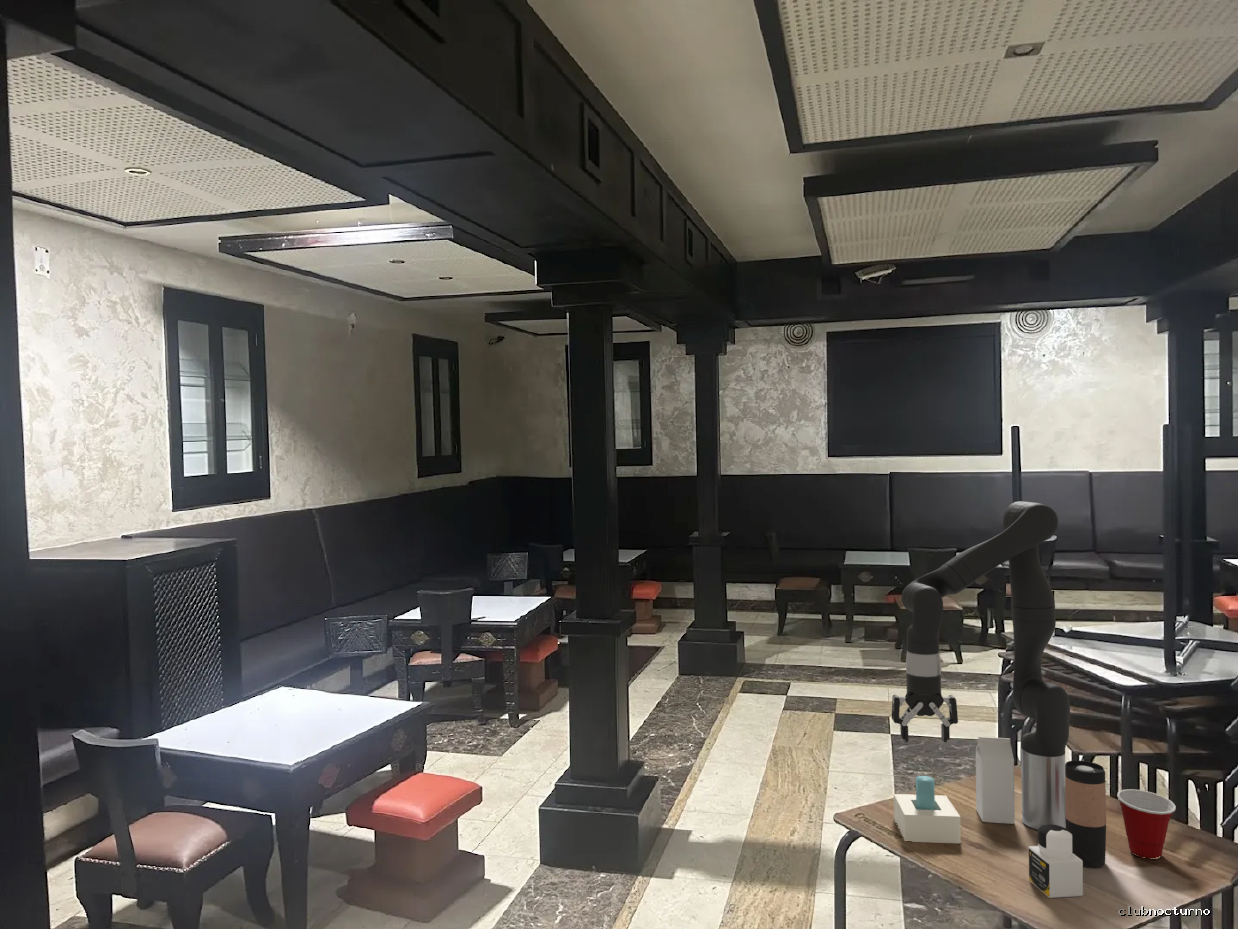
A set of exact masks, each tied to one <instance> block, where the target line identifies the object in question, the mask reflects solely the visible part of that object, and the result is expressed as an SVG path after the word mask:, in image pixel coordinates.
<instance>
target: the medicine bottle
mask: <svg viewBox="0 0 1238 929" xmlns="http://www.w3.org/2000/svg"><path fill="white" fill-rule="evenodd" d="M1037 834H1038V835H1037V841H1038V842H1037V843H1038V844H1037V845H1032V846H1031V845H1030V846H1028V880H1029V882H1030V883H1031V884H1032V885H1033V886H1035V888H1037V889H1038V890H1039V891H1041V892H1042V893H1043V894H1044V895H1045V896H1046V897H1047V898H1049V899H1054V898H1055V899H1057V898H1072V897H1075V898H1076V897H1083V896H1084V875H1083V873H1084V870H1083V868H1084V867H1083V861H1082V860H1081V859H1080V858H1078V857H1077V856H1076V855H1074V854H1073V853H1072V834H1071V832H1070V831H1069V830H1067V829H1066V828H1064V827H1061V826H1058V825H1052V824H1048V825H1042V826H1040V827H1039V828H1038V830H1037Z"/></svg>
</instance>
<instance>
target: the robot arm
mask: <svg viewBox="0 0 1238 929" xmlns="http://www.w3.org/2000/svg"><path fill="white" fill-rule="evenodd" d="M1002 516H1003V517H1002V529H1003V531H1002V532H1000V533H999V534H997V535H995V536H993V537H992V538H989V539H988V540H985V541H983V542H981V543H978V544H976V545H974V546H973V545H972V546H971V547H970V548H967V549H965V550H964V551H961V552H959V553H958V554H957V555H955V556H954V557H952V558H950V559H949V560H948V561H946V562H945V563H943V564H942V565H941V566H940V567H939V568H936V569H935V570H933V571H931V572H928V573H926V574H924V575H922V576H920V577H918V578H916V579H915V580H913V581H911V582H910V583H908V584H907V586H905V587H904V589H903V590H902V593H901V597H900V599H901V603H902V606H903V607H904V608H905V609H906V610H908V611H909V612H911V613H912V624H911V625H909V627H908V628H907V629H906V658H905V671H906V674H905V675H906V678H905V679H906V692H905V693H906V694H905V696H902V695H900V696H899V695H897V694H893V695H892V698H891V719H892V721H893V723H895V724H898V725H899V726H900V727H899V728H900V738H901V739H902V740H903V741H904V743H909V725H908V724H909V723H910V722H911V721H912V720H913V719H914V717H916V715H917V716H918V717H924V716H927V717H933V716H934V715H936V716H937V717H938V719H939V720H940V722H941V724H940V730H941V731H940V734H941V741H942V742H943V743H947V742H948V740H950V737H951V735H950V728H951V727H950V726H952V725H956V724H958V722H959V716H958V704H957V698H956V697H955V696H954V695H952V694H949V695H948V696H943V695H942V675H941V672H942V667H941V665H942V663H941V658H940V637H939V636H940V635H939V633H940V629H941V624H942V619H943V614H944V600H943V598H944V597H946V596H949V595H957V594H959V593H960V592H962V591H964V590H965V589H967V588H968V587H970V585H973V584H974V583H975V582H976V581H978V580H980V579H981V578H983V576H985V575H986V574H987V573H989V572H991V571H992V570H993V569H995V568H997V567H999V566H1001V565H1002V564H1004V563H1005V562H1007V561H1008V566H1009V567H1008V569H1009V570H1008V571H1009V584H1010V599H1011V602H1010V604H1011V605H1010V606H1011V619H1012V620H1011V622H1012V631H1013V633H1012V634H1013V653H1014V654H1013V657H1014V658H1013V661H1014V662H1013V677H1012V678H1013V680H1012V698H1013V703H1014V707H1015V709H1016V710H1017V712H1018V713H1019V714H1021V715H1022V716H1024V717H1027V718H1029V719H1032V720H1034V721H1036V724H1035V732H1027V733H1025V734H1023V735H1022V736H1021V740H1020V741H1021V743H1020V748H1021V751H1020V753H1021V755H1020V756H1021V820H1022V823H1023V824H1024V825H1025V826H1027V827H1029V828H1032V829H1034V830H1037V831H1038V828H1039V827H1040V826H1042V825H1048V824H1052V825H1058V826H1061V827H1064V828H1066V822H1065V764H1066V746H1067V744H1068V741H1069V737H1070V720H1071V717H1070V716H1071V703H1070V702H1071V701H1070V698H1069V695H1068V693H1067V691H1066V689H1065V688H1063V687H1062V686H1060V685H1057V684H1055V683H1051V682H1048V681H1044V680H1043V675H1042V658H1043V654H1044V651H1045V650H1046V647H1047V646H1048V644H1049V642H1050V641H1051V639H1052V636H1053V634H1054V632H1055V630H1056V629H1055V628H1056V627H1057V626H1056V622H1057V620H1056V619H1057V618H1056V616H1057V615H1056V605H1055V597H1054V593H1053V590H1052V587H1051V585H1050V582H1049V580H1048V578H1047V576H1046V573H1045V571H1044V569H1043V567H1042V564H1041V563H1042V562H1041V560H1040V554H1039V552H1040V550H1039V545H1040V544H1042V543H1044V542H1046V541H1048V540H1049V539H1051V538H1052V537H1053V536H1054V535H1055V533H1056V532H1057V529H1058V527H1059V519H1058V518H1059V517H1058V515H1057V513H1056V511H1055V510H1054V509H1053V508H1051V507H1050V506H1049V505H1046V504H1044V503H1040V502H1034V501H1033V502H1032V501H1021V500H1020V501H1014V502H1012V503H1011V504H1009V505H1008V507H1006V509H1005V510H1004V514H1003V515H1002ZM904 703H906V704H907V708H906V709H905V711H904V713H903V714H902V715H901V717H900V708H901V707H902V706H903V704H904ZM944 703H945V705H946V706H947V707H948V712H949V714H948V715H949V716H948V717H946V716H945V715H944V714H943V713H942V711H941V710H940V708H941V707H942V706H943V704H944Z"/></svg>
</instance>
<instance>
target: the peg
mask: <svg viewBox="0 0 1238 929" xmlns="http://www.w3.org/2000/svg"><path fill="white" fill-rule="evenodd" d="M935 791H936V790H935V779H934V778H933V777H932V776H927V775H918V776H916V777H915V795H916V809H917V810H935V795H936V792H935Z"/></svg>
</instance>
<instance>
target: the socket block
mask: <svg viewBox="0 0 1238 929" xmlns="http://www.w3.org/2000/svg"><path fill="white" fill-rule="evenodd" d="M894 819H895V820H894ZM893 820H894V823H895V824H896V823H897V824H896V826H897V825H898V826H897V828H898V830H899V829H900V830H899V832H900V831H901V832H900V835H901V836H902V835H903V836H902V838H903V837H904V838H903V841H905V840H908V841H912V842H911V843H938V844H961V839H962V837H961V815H960V814H959V813H958V811H957V809H956V807H955V806H954V805H953V804H952V802H951V801H950V800H949V798H948V797H947V795H940V794H939V795H937V794H935V810H917V809H916V794H910V793H908V794H904V793H903V794H902V793H893Z"/></svg>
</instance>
